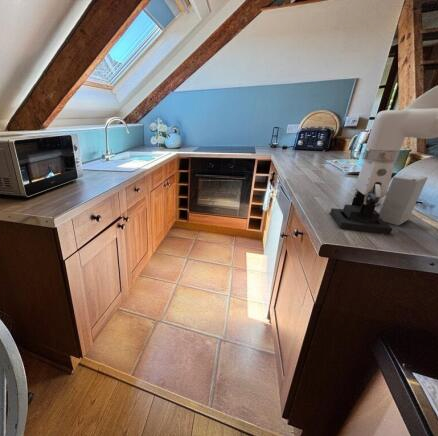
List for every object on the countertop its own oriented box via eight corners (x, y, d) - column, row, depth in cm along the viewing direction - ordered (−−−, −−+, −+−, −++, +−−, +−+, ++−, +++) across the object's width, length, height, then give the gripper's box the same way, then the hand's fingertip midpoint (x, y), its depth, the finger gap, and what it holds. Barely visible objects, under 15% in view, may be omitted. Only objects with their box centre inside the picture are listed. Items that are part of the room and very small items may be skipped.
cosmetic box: (386, 215, 85) (402, 172, 79) (409, 220, 80) (429, 176, 74) (375, 219, 81) (391, 175, 75) (399, 226, 76) (419, 179, 70)
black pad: (368, 214, 80) (371, 206, 79) (376, 221, 74) (379, 214, 73) (342, 211, 82) (344, 204, 81) (348, 218, 77) (351, 211, 76)
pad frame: (372, 218, 83) (374, 212, 82) (390, 234, 71) (392, 228, 70) (330, 213, 87) (331, 208, 86) (340, 228, 75) (341, 222, 75)
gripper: (411, 161, 62) (386, 224, 69) (384, 152, 77) (365, 205, 84) (374, 159, 65) (354, 220, 72) (354, 152, 80) (339, 203, 86)
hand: (360, 212), depth 78 cm, fingers closed on black pad, 7 cm apart
